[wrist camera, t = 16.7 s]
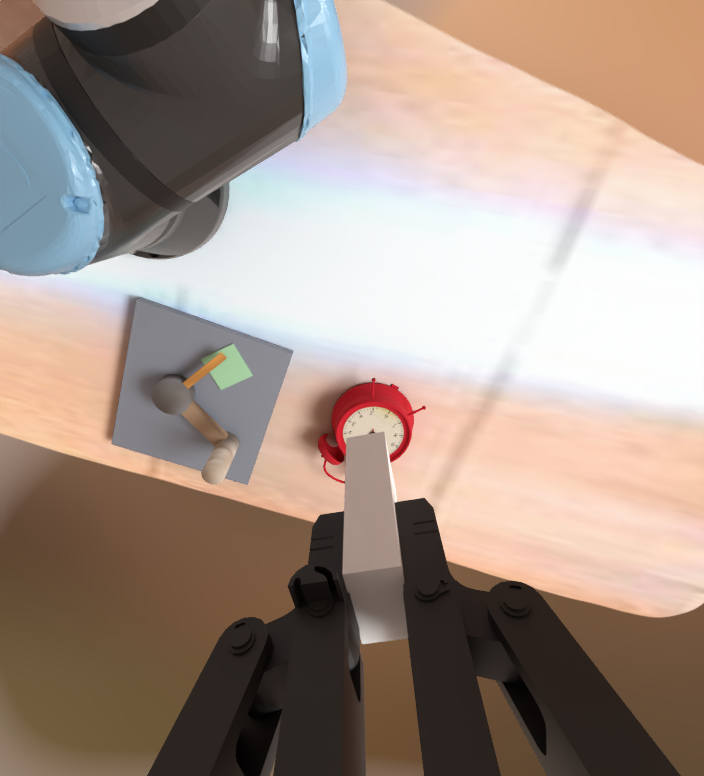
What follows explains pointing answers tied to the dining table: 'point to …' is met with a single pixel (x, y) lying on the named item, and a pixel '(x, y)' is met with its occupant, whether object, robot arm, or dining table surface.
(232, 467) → the tuner board
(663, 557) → the dining table surface
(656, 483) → the dining table surface
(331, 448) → the alarm clock
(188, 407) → the peg lever
